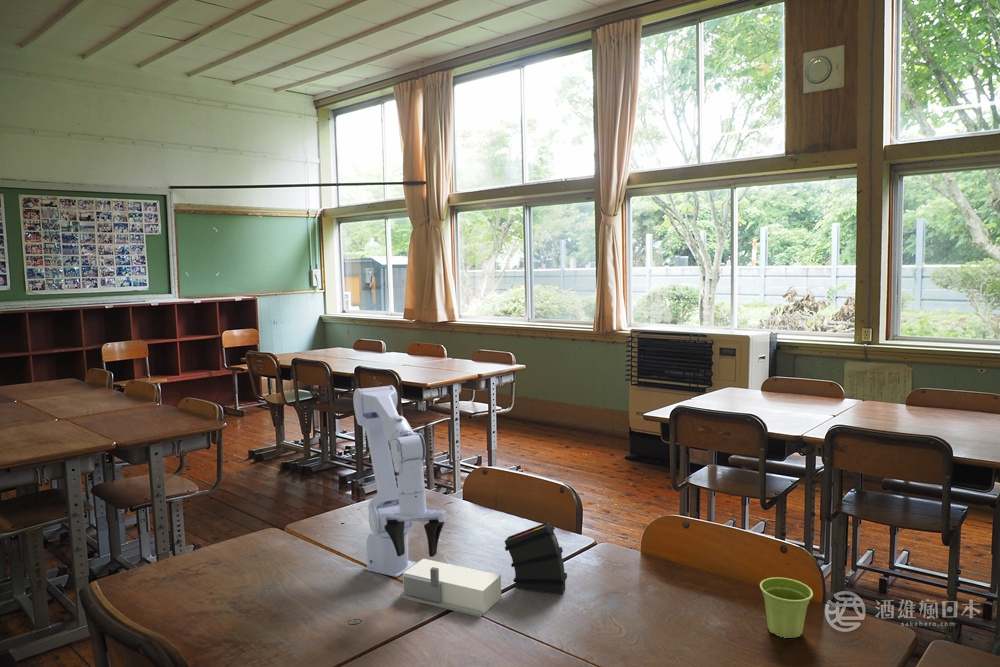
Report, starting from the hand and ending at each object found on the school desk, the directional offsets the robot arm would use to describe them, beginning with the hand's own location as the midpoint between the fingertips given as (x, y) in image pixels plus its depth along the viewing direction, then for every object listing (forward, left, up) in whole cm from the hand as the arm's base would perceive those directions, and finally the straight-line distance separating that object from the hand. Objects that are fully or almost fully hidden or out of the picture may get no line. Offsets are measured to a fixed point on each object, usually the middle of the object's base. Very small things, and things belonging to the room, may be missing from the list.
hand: (416, 555), depth 147 cm
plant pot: (+72, +20, -10) cm, 75 cm away
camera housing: (+6, +5, -10) cm, 12 cm away
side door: (+1, 0, -9) cm, 9 cm away
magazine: (+21, +16, -10) cm, 28 cm away
